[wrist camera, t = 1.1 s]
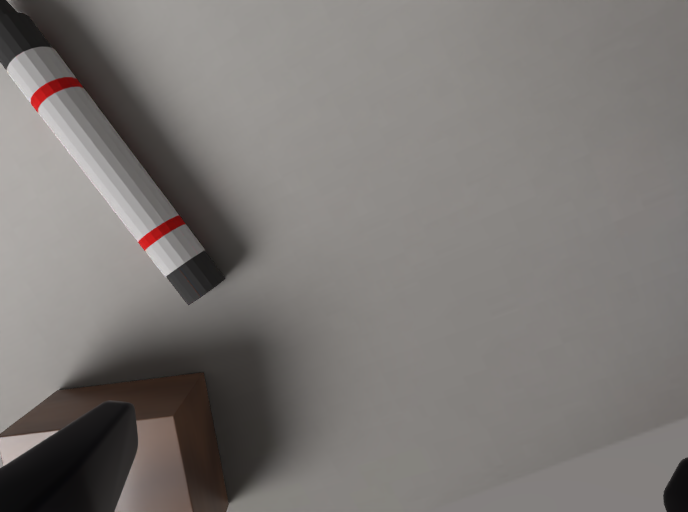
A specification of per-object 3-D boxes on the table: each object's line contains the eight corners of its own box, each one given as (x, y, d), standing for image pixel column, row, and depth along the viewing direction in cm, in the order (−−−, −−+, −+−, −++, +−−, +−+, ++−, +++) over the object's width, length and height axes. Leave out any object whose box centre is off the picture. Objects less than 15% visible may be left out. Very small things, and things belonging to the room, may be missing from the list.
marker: (230, 274, 21) (219, 284, 19) (196, 298, 21) (181, 311, 19) (2, -32, 19) (-37, -56, 17) (-35, -2, 19) (-78, -23, 17)
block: (229, 504, 23) (206, 572, 19) (89, 521, 23) (37, 592, 19) (203, 371, 22) (173, 415, 18) (57, 389, 22) (-6, 437, 18)
